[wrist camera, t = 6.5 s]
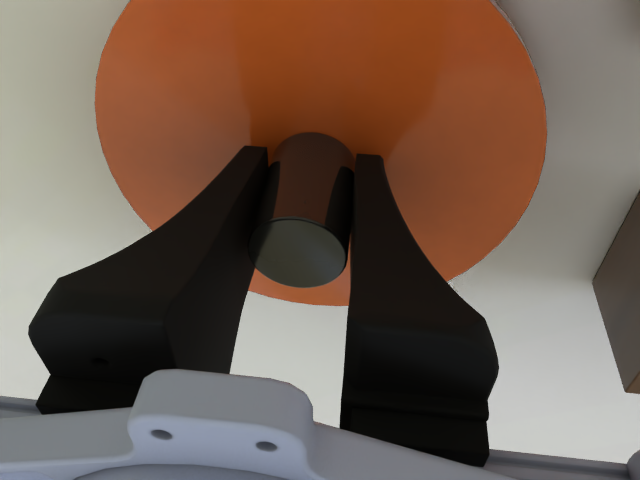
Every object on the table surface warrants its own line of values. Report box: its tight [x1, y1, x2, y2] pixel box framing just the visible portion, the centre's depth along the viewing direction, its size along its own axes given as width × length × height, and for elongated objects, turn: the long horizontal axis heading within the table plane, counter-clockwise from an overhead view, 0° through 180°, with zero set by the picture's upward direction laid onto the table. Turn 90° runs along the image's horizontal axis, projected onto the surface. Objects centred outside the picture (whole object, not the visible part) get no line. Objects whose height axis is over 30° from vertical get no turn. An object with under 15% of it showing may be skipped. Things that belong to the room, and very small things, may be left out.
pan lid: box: [95, 0, 547, 306], centre depth 15 cm, size 12×12×4 cm
